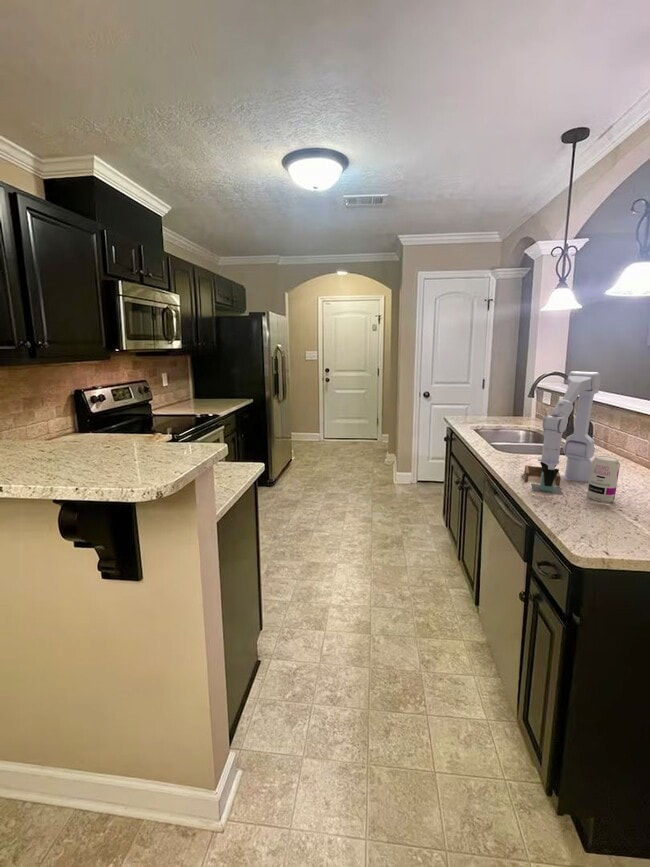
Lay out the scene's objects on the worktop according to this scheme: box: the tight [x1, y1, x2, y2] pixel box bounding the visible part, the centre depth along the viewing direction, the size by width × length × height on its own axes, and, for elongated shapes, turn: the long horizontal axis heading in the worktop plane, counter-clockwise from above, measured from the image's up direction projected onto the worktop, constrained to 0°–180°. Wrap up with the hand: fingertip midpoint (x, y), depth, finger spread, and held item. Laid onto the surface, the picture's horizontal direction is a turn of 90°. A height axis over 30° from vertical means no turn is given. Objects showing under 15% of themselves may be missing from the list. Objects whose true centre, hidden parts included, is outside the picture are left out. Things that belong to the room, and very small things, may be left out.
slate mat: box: [531, 483, 564, 496], centre depth 161 cm, size 10×10×1 cm
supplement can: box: [587, 455, 621, 503], centre depth 151 cm, size 8×8×15 cm
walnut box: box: [524, 465, 561, 487], centre depth 173 cm, size 12×12×4 cm
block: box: [539, 472, 554, 491], centre depth 161 cm, size 4×4×6 cm
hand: (547, 483), depth 161 cm, fingers open, 6 cm apart
